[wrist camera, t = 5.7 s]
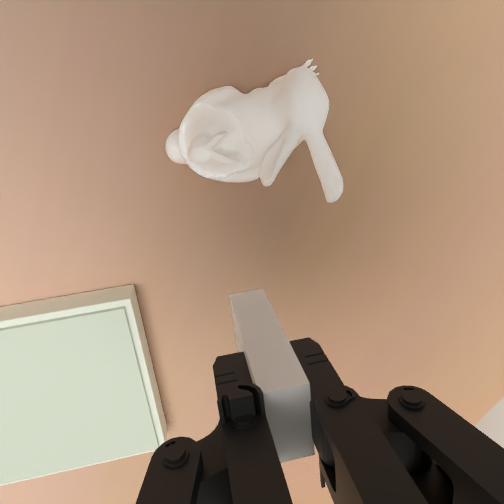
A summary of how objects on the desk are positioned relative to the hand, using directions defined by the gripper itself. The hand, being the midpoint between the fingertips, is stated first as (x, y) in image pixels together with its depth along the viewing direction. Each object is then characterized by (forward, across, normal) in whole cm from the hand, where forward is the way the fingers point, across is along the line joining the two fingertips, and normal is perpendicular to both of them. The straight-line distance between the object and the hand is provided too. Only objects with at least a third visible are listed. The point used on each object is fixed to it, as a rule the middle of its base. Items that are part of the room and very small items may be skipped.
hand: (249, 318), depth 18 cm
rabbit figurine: (+14, +3, +6) cm, 16 cm away
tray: (+14, -15, -10) cm, 23 cm away
